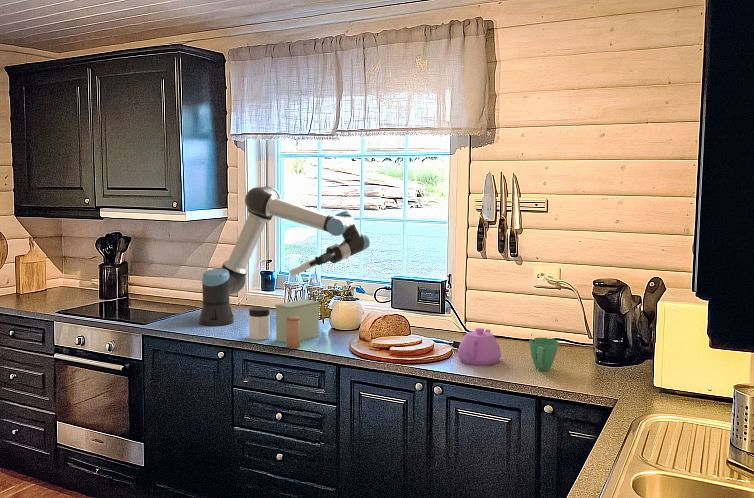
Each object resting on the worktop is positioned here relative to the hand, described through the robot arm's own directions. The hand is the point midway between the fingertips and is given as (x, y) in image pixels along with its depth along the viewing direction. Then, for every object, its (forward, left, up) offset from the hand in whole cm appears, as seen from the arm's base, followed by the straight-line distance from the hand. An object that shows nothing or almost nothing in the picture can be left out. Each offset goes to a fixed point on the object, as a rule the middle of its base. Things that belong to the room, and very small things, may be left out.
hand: (296, 270), depth 291 cm
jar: (-4, -17, -26) cm, 32 cm away
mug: (+104, +19, -26) cm, 109 cm away
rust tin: (+18, -18, -26) cm, 36 cm away
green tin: (+8, -7, -26) cm, 28 cm away
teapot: (+81, +15, -26) cm, 87 cm away
